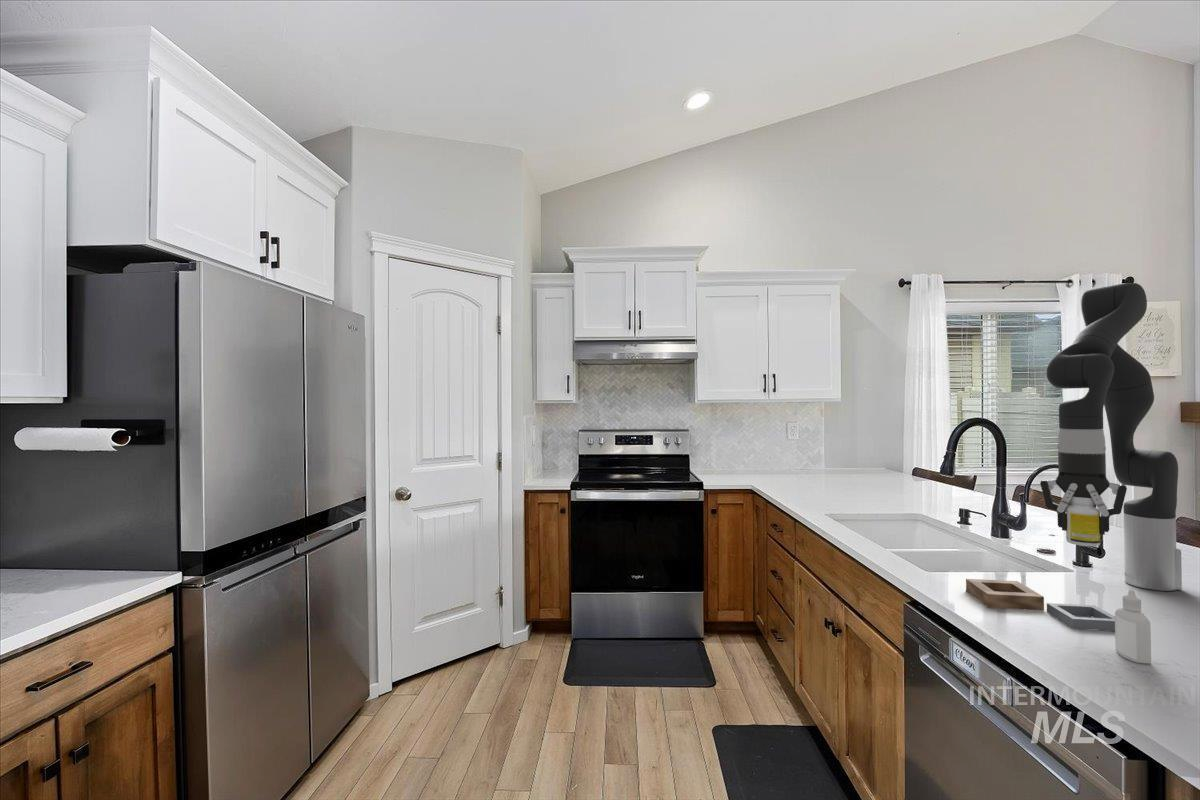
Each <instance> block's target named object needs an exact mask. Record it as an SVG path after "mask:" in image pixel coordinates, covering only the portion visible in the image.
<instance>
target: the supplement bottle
mask: <svg viewBox="0 0 1200 800" xmlns="http://www.w3.org/2000/svg"><path fill="white" fill-rule="evenodd" d="M1069 503H1070V504H1071V505H1067V507H1066V508H1065V512H1066V531H1065V532H1066V534H1065V535H1066V539H1065V540H1066V542H1067V543H1070V544H1072V545H1076V546H1082V547H1099V546H1100V545H1101V534H1100V515H1101V513H1100V511H1099V509H1098V507H1095V506H1096V504H1095V502H1094V501H1093V499H1092V498H1082V497H1072V498H1071V500H1070V501H1069Z"/></svg>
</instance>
